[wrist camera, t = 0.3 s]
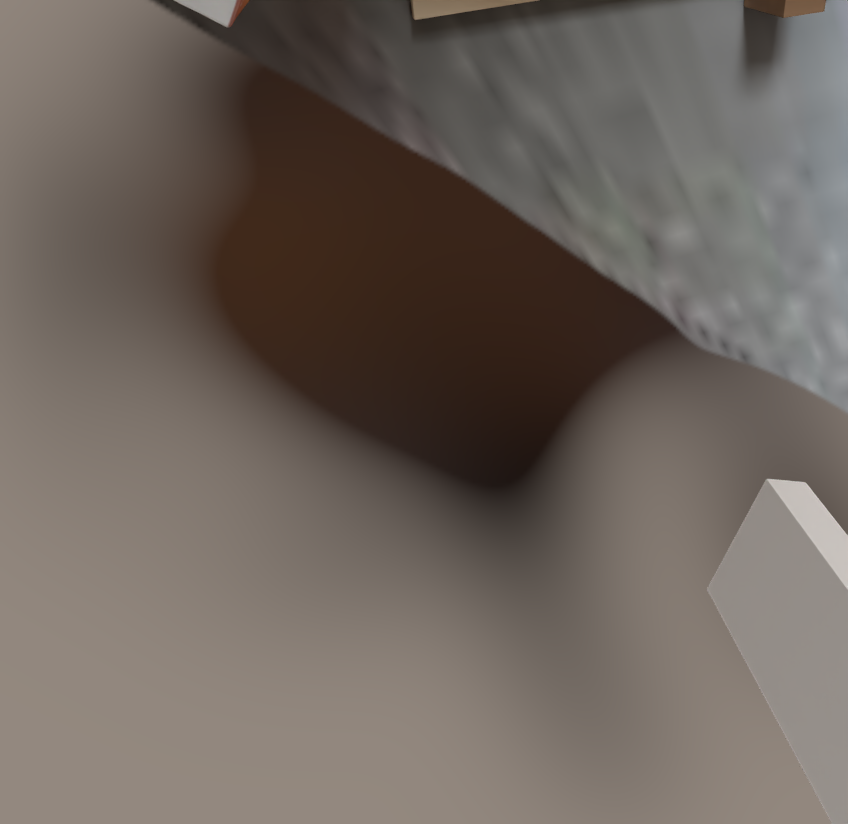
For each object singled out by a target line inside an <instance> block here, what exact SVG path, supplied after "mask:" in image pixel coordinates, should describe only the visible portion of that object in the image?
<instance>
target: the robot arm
mask: <svg viewBox="0 0 848 824" xmlns="http://www.w3.org/2000/svg"><path fill="white" fill-rule="evenodd" d="M707 591H708V593H709V594H710V596H711V598H712V600H713V602H714V604H715V606H716V607H717V609H718V611H719V613H720V615H721V617H722V619H723V621H724V622H725V624H726V626H727V628H728V630H729V632H730V634H731V636H732V638H733V639H734V641H735V643H736V645H737V647H738V649H739V650H740V653H741V654H742V656H743V658H744V660H745V662H746V664H747V666H748V668H749V670H750V671H751V673H752V675H753V677H754V679H755V681H756V682H757V685H758V686H759V688H760V690H761V692H762V694H763V696H764V698H765V700H766V701H767V703H768V705H769V707H770V709H771V711H772V713H773V714H774V716H775V718H776V720H777V722H778V724H779V726H780V728H781V730H782V731H783V733H784V735H785V737H786V739H787V741H788V743H789V745H790V746H791V748H792V750H793V752H794V754H795V756H796V758H797V760H798V761H799V763H800V765H801V767H802V769H803V771H804V773H805V775H806V776H807V778H808V780H809V782H810V784H811V786H812V788H813V790H814V792H815V793H816V795H817V797H818V799H819V801H820V803H821V805H822V807H823V808H824V810H825V812H826V814H827V816H828V818H829V820H830V822H831V823H832V824H848V536H847V534H846V533H845V532H844V530H843V529H842V528H841V527H840V525H839V524H838V523H837V522H836V520H835V519H834V518H833V517H832V515H831V514H830V513H829V511H828V510H827V509H826V508H825V506H824V505H823V504H822V503H821V501H820V500H819V499H818V498H817V496H816V495H815V494H814V493H813V491H812V490H811V489H810V488H809V486H808V485H807V484H806V483H805V482H796V481H785V480H773V479H766V481H765V483H764V484H763V486H762V488H761V490H760V492H759V494H758V495H757V497H756V499H755V501H754V503H753V505H752V507H751V508H750V510H749V512H748V514H747V516H746V518H745V519H744V521H743V523H742V525H741V527H740V529H739V531H738V532H737V534H736V536H735V538H734V540H733V542H732V544H731V545H730V547H729V549H728V551H727V553H726V555H725V556H724V558H723V560H722V562H721V564H720V566H719V568H718V570H717V571H716V573H715V575H714V577H713V579H712V581H711V582H710V584H709V586H708V588H707Z"/></svg>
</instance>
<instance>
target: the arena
mask: <svg viewBox="0 0 848 824" xmlns="http://www.w3.org/2000/svg"><path fill="white" fill-rule="evenodd" d="M531 1H538V0H411V8H412V16H413V18H414V20H418V19H424V18H431V17H437V16H443V15H450V14H456V13H462V12H468V11H475V10H481V9H487V8H494V7H500V6H506V5H513V4H519V3H525V2H531ZM825 2H826V0H744V7H748V8H751V9H755V10H758V11H762V12H765V13H769V14H772V15H776V16H779V17H782V18H785V17H792V16H798V15H804V14H810V13H817V12H823V11H824V9H825Z"/></svg>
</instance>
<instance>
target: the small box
mask: <svg viewBox="0 0 848 824" xmlns="http://www.w3.org/2000/svg"><path fill="white" fill-rule="evenodd" d="M174 1H176V2H178V3H180V4H182V5H184V6H186V7H188V8H190V9H192V10H194V11H196V12H198V13H200V14H202V15H204V16H206V17H208V18H210V19H212V20H214V21H215V22H217V23H219V24H221V25H223V26H225V27H231V26H232V24H233V23H234V21H235V19H236V17H237V16H238V15H239V14H240V12H241V11H242V9H243V8H244V7H245V5H246V4H247V3H248V2H249V0H174Z"/></svg>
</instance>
